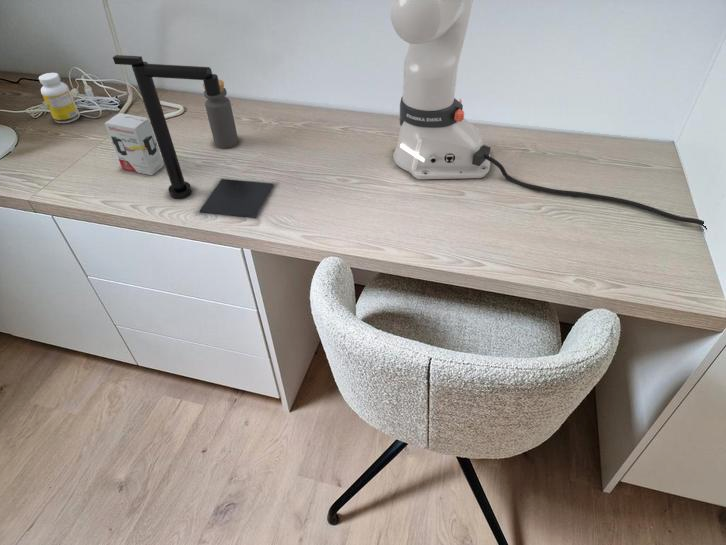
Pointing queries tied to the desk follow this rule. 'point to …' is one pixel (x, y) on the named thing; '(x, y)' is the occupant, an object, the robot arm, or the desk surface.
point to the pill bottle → (58, 98)
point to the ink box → (134, 143)
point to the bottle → (221, 119)
